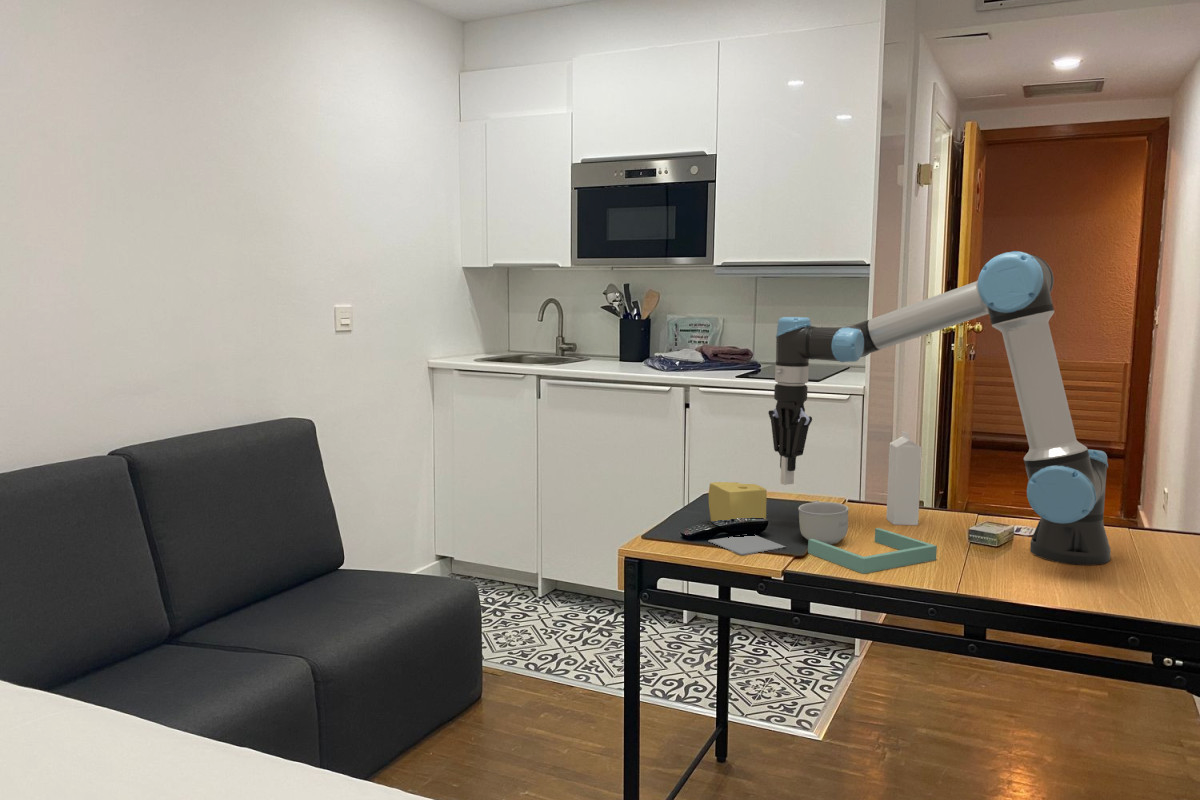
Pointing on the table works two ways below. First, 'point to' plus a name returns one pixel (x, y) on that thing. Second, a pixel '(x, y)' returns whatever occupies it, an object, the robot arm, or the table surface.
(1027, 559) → the table surface
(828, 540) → the teacup
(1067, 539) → the robot arm
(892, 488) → the milk
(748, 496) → the cheese
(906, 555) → the cup bay
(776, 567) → the table surface
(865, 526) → the table surface
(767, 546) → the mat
